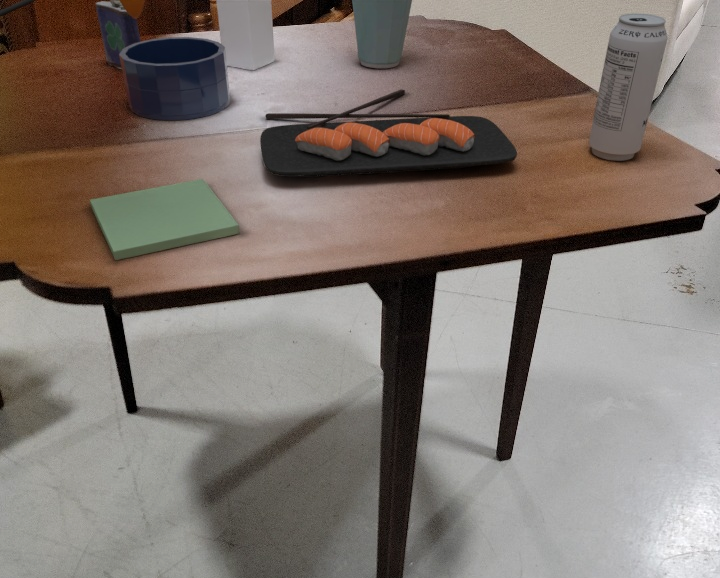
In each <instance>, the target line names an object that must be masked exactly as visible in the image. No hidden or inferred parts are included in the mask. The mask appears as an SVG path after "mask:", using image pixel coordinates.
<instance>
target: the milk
mask: <svg viewBox="0 0 720 578" xmlns="http://www.w3.org/2000/svg"><path fill="white" fill-rule="evenodd" d="M215 3H216V9H217V10H216V11H217V20H218V29H219V39H220V43H221V44H222V45H223V46H224V47H225V51H226V61H227V67H232V68H238V69H243V70H249V71H256V70H258V69H260V68H262V67H265V66H267V65H270V64H273V63H274V62H275V61H276V58H275V57H276V56H275V40H274V25H273V23H274V22H273V10H272V9H273V8H272V0H215Z"/></svg>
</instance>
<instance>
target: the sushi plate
mask: <svg viewBox="0 0 720 578" xmlns="http://www.w3.org/2000/svg"><path fill="white" fill-rule="evenodd" d="M405 93H406V89H401V88H400V89H398V90H396V91H393V92H391V93H388V94H386V95H383V96H381V97H378V98H375V99H373V100H371V101H368V102H365V103H364V104H361V105H359V106H356V107H354V108H351V109H348V110H346V111H344V112H341V113H301V112H300V113H297V112H296V113H291V112H290V113H285V112H283V113H281V112H280V113H279V112H278V113H277V112H275V113H271V112H270V113H266V114H265V119H266V120H302V119H303V120H305V119H306V120H307V119H308V120H309V119H312V120H313V119H323V120H320V121H318V122H314V123H299V124H284V125H283V124H282V125H277V126H271V127H268V128H265V129H264V130H262V132H261V134H260V139H259V141H260V148H261V149H260V151H261V158H262V162H263V166H264V168H265V169H266V170H267V172H268V173H270V174H272V175H274V176H279V177H281V176H282V177H307V178H309V177H310V178H311V177H312V178H314V177H333V176H334V177H335V176H352V175H368V174H383V173H384V174H385V173H398V172H399V173H400V172H416V171H417V172H418V171H433V170H448V169H450V170H451V169H465V168H472V167H473V168H474V167H479V166H488V165H498V164H506V163H509V162H513V161H515V160H516V158H517V157H518V152H517V149H516V147H515V145H514V144H513V143H512V142H511V140H510V139H509V138H508V136H506V134H505V132H503V131H502V130H501V128H500V127H498V126H497V125H496V124H495V123H494V122H493V121H492V120H490V119H489V118H486V117H483V116H478V115H477V116H476V115H453V116H452V115H451V114H448V113H446V114H443V113H442V114H441V113H439V114H438V113H437V114H436V113H425V114H424V113H421V114H420V113H356V112H358V111H361V110H364V109H367V108H370V107H374V106H375V105H378V104H382V103H384V102H386V101H389V100H392V99H395V98H398V97H401V96H403V95H405ZM371 118H372V120H355V121H354V120H353V121H335V122H334V120H336V119H371ZM375 118H376V119H375ZM379 118H380V119H379ZM382 118H383V119H382ZM384 118H385V119H384ZM386 118H388V119H386ZM389 118H391V119H389ZM394 118H395V119H394ZM373 119H375V120H373ZM331 121H333V122H331Z"/></svg>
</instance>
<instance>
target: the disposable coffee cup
mask: <svg viewBox="0 0 720 578" xmlns="http://www.w3.org/2000/svg"><path fill="white" fill-rule="evenodd" d="M351 3H352V12H353V20H354V29H355V38H356V47H357V55H358V60H359V63H360V65H362V66H363V67H366V68H371V69H391V68H395V67H397V66H399V65H400V61H401V60H402V57H403V56H402V55H403V51H404V45H405V40H406V35H407V29H408V24H409V19H410V13H411V8H412V3H413V0H351Z"/></svg>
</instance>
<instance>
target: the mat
mask: <svg viewBox="0 0 720 578" xmlns="http://www.w3.org/2000/svg"><path fill="white" fill-rule="evenodd" d="M89 203H90V208H91V209H92V212H93V214H94V217H95V218H96V221H97V224H98V225H99V227H100V230H101V232H102V234H103V236H104V239H105V241H106V243H107V245H108V247H109V250H110V252H111V254H112V256H113V259H114V261H119V260H124V259H128V258H133V257H137V256H142V255H147V254H152V253H156V252H161V251H167V250H170V249H176V248H179V247H184V246H189V245H195V244H197V243H203V242H207V241H213V240H217V239H220V238H225V237H229V236H230V237H231V236H235V235H239V234H240V224H239V223H238V222H237V221H236V219H235V218H234V217H233V216H232V215H231V213H230V211H229V210H228V209H227V208H226V207H225V205H224V204H223V202H222V201H221V200H220V199H219V197H218V196H217V195H216V194H215V192H214V191H213V190H212V188H211V187H210V186H209V184H208V183H207V182H206V181H205V179H204V178H198V179H194V180H188V181H183V182H182V181H181V182H177V183H172V184H168V185H161V186H157V187H150V188H146V189H140V190H139V189H138V190H135V191H129V192H124V193H118V194H113V195H108V196H102V197H97V198H91V199H89Z"/></svg>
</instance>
